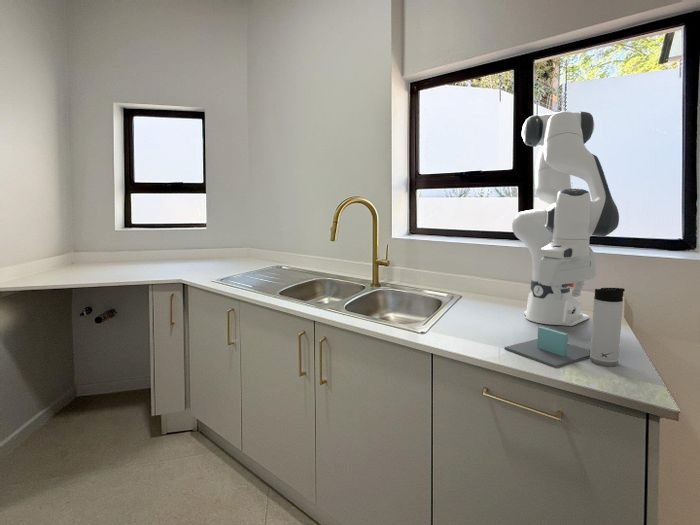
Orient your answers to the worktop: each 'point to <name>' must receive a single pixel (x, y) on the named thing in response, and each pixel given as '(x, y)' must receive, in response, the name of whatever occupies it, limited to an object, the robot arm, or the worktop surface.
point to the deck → (552, 341)
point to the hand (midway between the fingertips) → (567, 298)
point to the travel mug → (606, 326)
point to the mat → (549, 353)
